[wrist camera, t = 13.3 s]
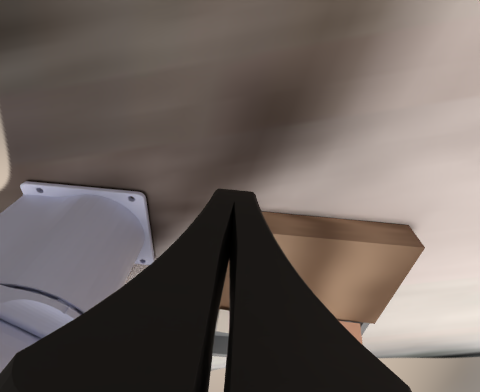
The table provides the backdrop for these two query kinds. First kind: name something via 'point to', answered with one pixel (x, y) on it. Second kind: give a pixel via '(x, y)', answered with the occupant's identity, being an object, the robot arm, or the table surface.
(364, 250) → the walnut board
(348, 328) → the terracotta tile
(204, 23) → the table surface
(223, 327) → the ivory tile
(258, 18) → the table surface
